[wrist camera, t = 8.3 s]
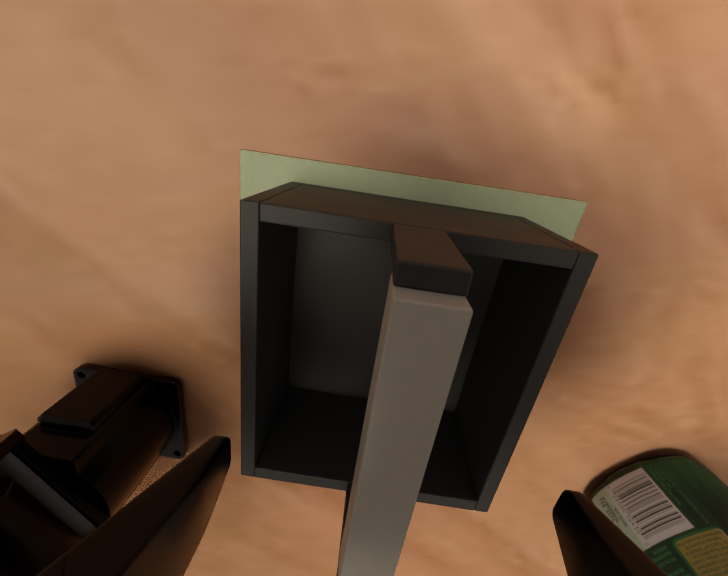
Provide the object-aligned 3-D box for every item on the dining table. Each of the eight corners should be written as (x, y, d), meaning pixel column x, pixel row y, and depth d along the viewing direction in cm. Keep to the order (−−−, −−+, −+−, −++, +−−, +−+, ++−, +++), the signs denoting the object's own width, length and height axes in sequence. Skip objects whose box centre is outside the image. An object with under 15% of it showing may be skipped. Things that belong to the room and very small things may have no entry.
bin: (459, 413, 20) (523, 642, 11) (280, 386, 20) (189, 591, 11) (524, 216, 16) (734, 320, 6) (291, 181, 16) (148, 230, 6)
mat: (496, 428, 21) (497, 431, 21) (242, 389, 21) (241, 392, 21) (584, 201, 15) (588, 202, 15) (242, 149, 15) (239, 149, 15)
